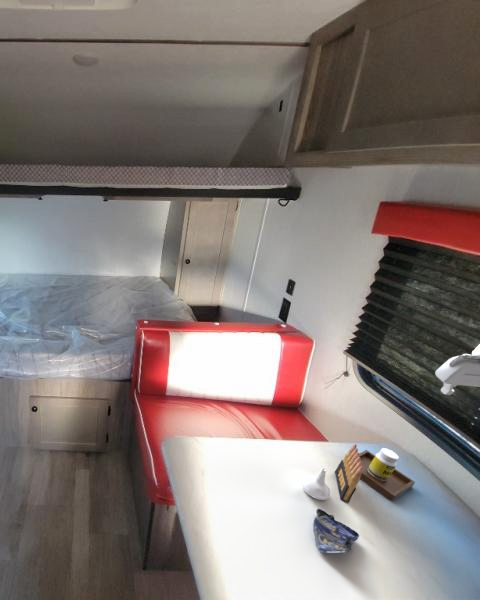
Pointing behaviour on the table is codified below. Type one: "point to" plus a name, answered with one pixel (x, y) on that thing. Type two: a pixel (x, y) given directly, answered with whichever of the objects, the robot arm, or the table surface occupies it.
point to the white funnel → (316, 486)
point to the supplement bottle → (383, 464)
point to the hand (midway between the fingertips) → (461, 394)
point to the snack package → (332, 534)
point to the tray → (387, 488)
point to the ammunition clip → (349, 474)
